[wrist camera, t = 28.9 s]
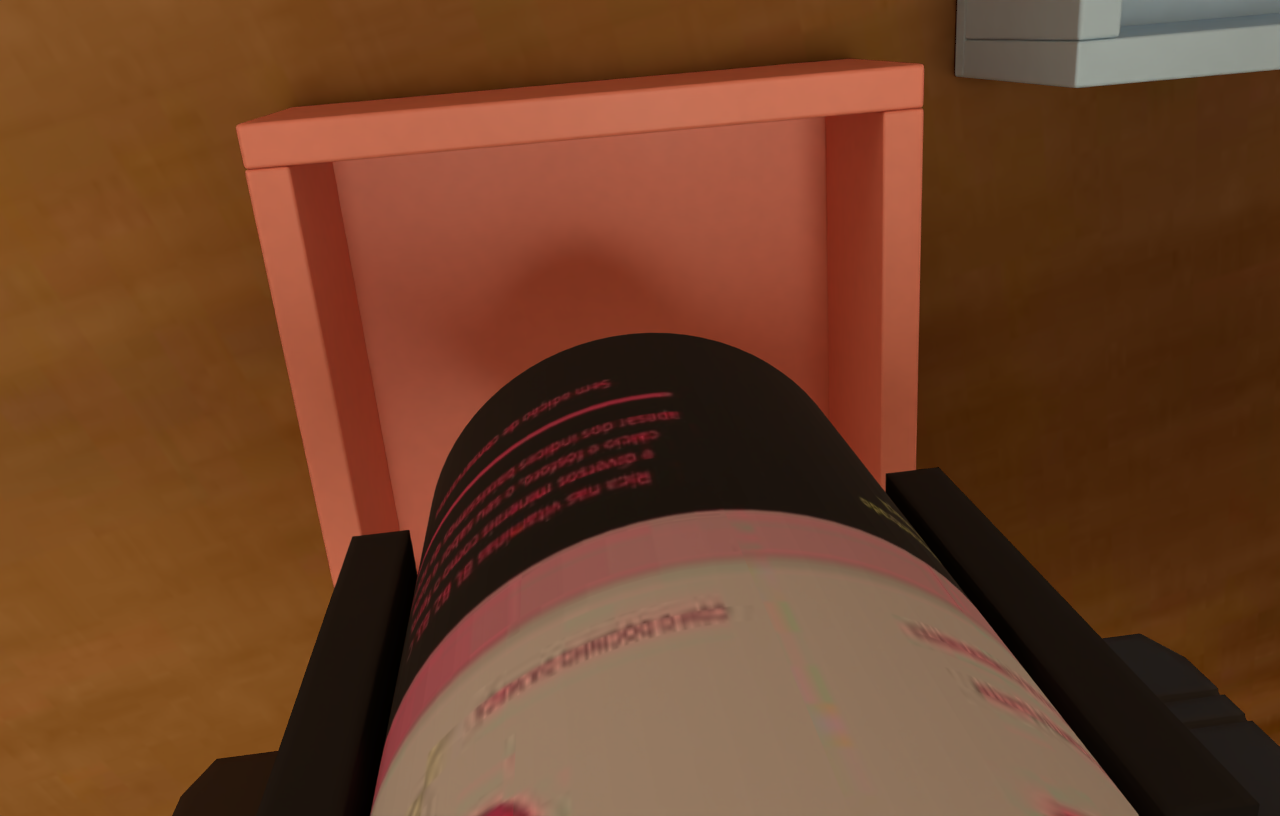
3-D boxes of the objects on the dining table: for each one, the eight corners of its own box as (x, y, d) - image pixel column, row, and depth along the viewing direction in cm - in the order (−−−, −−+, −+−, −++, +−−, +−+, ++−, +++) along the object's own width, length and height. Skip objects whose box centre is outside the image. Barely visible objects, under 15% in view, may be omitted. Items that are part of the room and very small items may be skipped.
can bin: (854, 547, 27) (913, 639, 23) (386, 604, 26) (359, 712, 22) (852, 58, 23) (925, 63, 19) (289, 107, 22) (233, 124, 18)
